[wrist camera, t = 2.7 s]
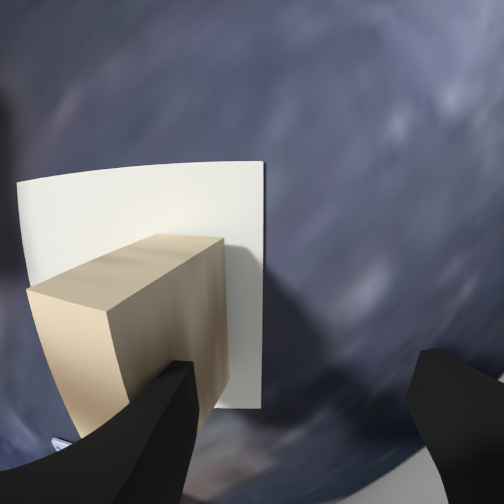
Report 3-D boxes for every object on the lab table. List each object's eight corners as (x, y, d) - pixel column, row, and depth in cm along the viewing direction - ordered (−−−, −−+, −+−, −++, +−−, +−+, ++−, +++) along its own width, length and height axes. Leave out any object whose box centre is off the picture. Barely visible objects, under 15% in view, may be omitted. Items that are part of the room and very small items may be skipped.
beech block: (231, 377, 14) (163, 490, 8) (173, 364, 15) (92, 457, 8) (226, 236, 12) (106, 311, 6) (158, 232, 13) (25, 289, 7)
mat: (260, 407, 16) (260, 408, 16) (62, 385, 16) (61, 386, 16) (263, 161, 12) (263, 161, 12) (17, 182, 12) (16, 182, 12)
